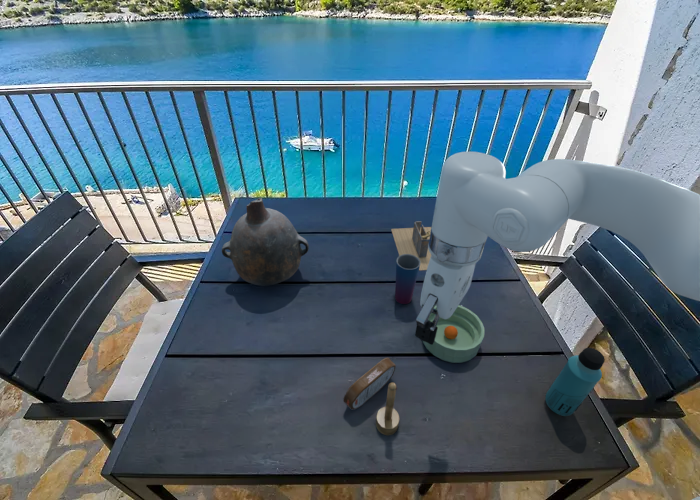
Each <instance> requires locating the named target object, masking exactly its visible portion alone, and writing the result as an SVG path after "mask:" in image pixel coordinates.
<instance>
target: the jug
mask: <svg viewBox="0 0 700 500" xmlns="http://www.w3.org/2000/svg"><path fill="white" fill-rule="evenodd" d="M245 207H246V213H244V214H243V215H242V216H240V217H239V218H238V219H237V221H236V222H235V224H234V226H233V228H232V231H231V235H230V239H229V241H227V242H225V243H224V244H223V246H222V247H221V253H222V256H223V257H224V258H227V259H228V260H229V259H230V260H231V262H232V264H233V267H234V269H235V271H236V273H237V275H238V276H239V277H240V278H241V279H242V280H243V281H245V282H246V283H249V284H252V285H256V286H272V285H277V284H279V283H283V282H285V281H287V280H289V279H290V278H291V277H293V276H294V275H295V274H296V272H297V271H298V269H299V267H300V264H301V259H302V257H303V256H305V255H306V254H308V252H309V248H310V245H309V241H308V240H307V239H306V238H305V237H303V236H301V235H300V234H299V233H298V231H297V229H296V227H294V224H293V223H292V222H291V220H289V218H288V217H287V216H286V215H285V214H283V213H282V212H280V211H279V210H276V209H273V208H269V207H266V206H265V204H264V201H263V198H262V197H257V199H255V200H252V201H250V202H249V203H248V204H247V205H246V206H245ZM301 245H303V246H304V247H305V248H302V246H301ZM227 250H228V251H227Z"/></svg>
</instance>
